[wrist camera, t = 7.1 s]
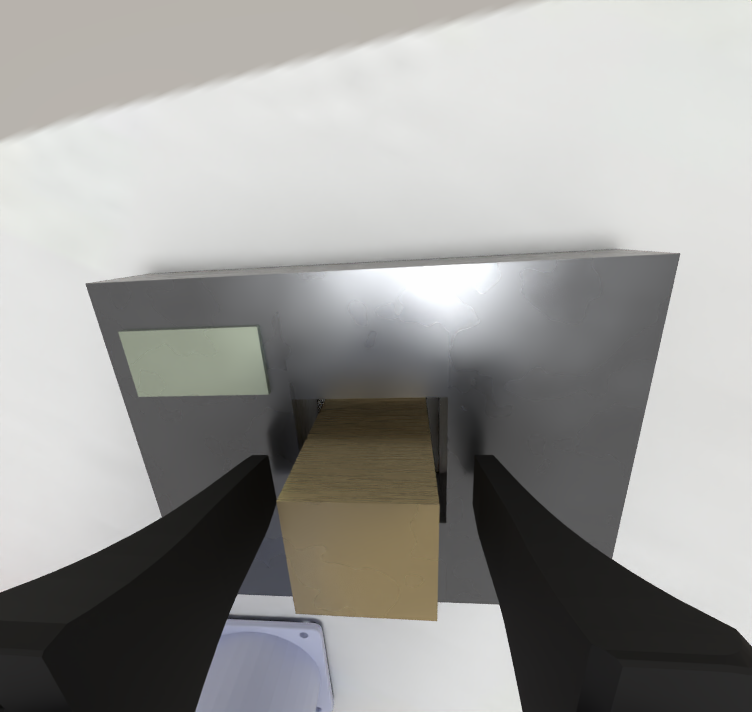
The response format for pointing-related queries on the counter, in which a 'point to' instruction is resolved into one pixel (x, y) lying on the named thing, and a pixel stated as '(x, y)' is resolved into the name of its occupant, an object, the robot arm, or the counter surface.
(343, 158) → the counter surface
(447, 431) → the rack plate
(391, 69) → the counter surface
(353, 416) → the brass peg
